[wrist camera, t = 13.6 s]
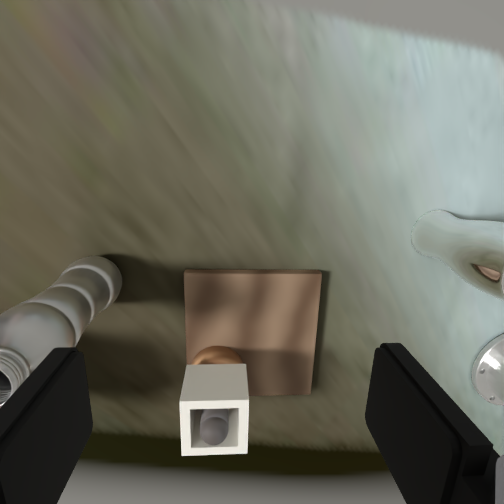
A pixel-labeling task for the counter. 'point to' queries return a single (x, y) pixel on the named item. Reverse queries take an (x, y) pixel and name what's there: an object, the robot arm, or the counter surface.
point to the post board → (252, 331)
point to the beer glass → (464, 248)
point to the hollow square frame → (214, 407)
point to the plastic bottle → (54, 318)
